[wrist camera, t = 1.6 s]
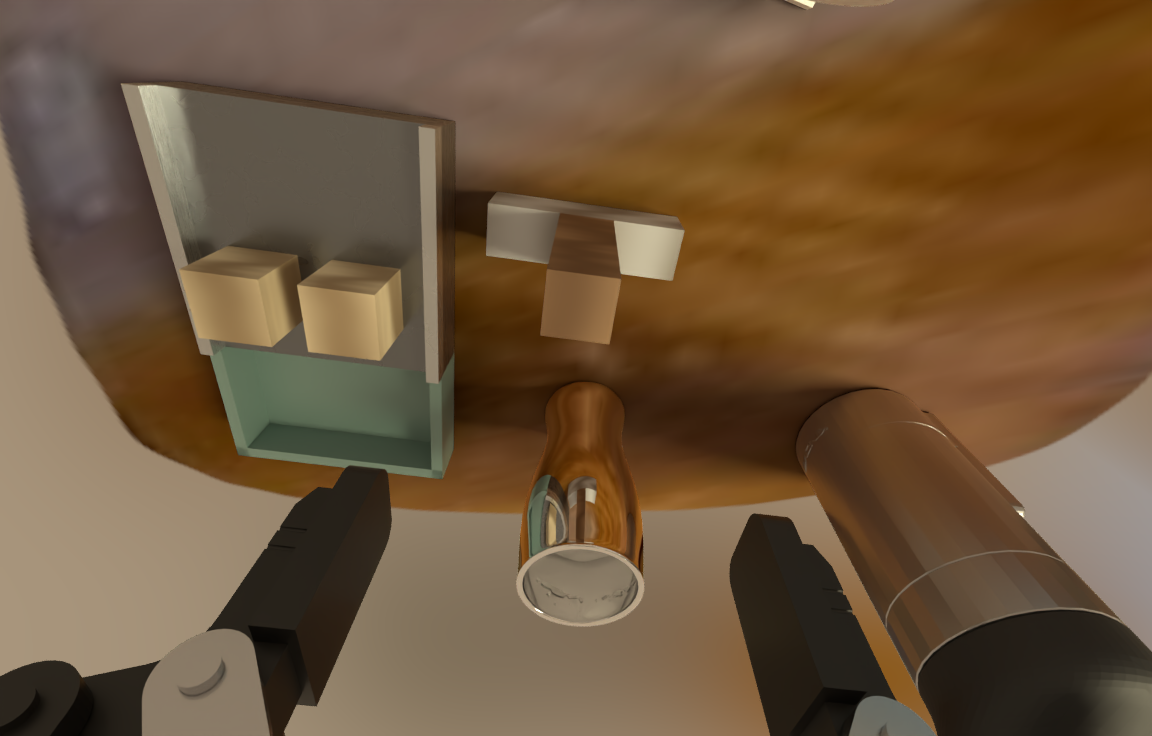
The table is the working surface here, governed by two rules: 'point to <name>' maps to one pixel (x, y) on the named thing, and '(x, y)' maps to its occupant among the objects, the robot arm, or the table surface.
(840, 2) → the headphone stand
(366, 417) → the chip tray
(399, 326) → the maple cube
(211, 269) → the maple cube
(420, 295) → the open box
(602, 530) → the beer glass
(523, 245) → the rake tool
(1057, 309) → the table surface
